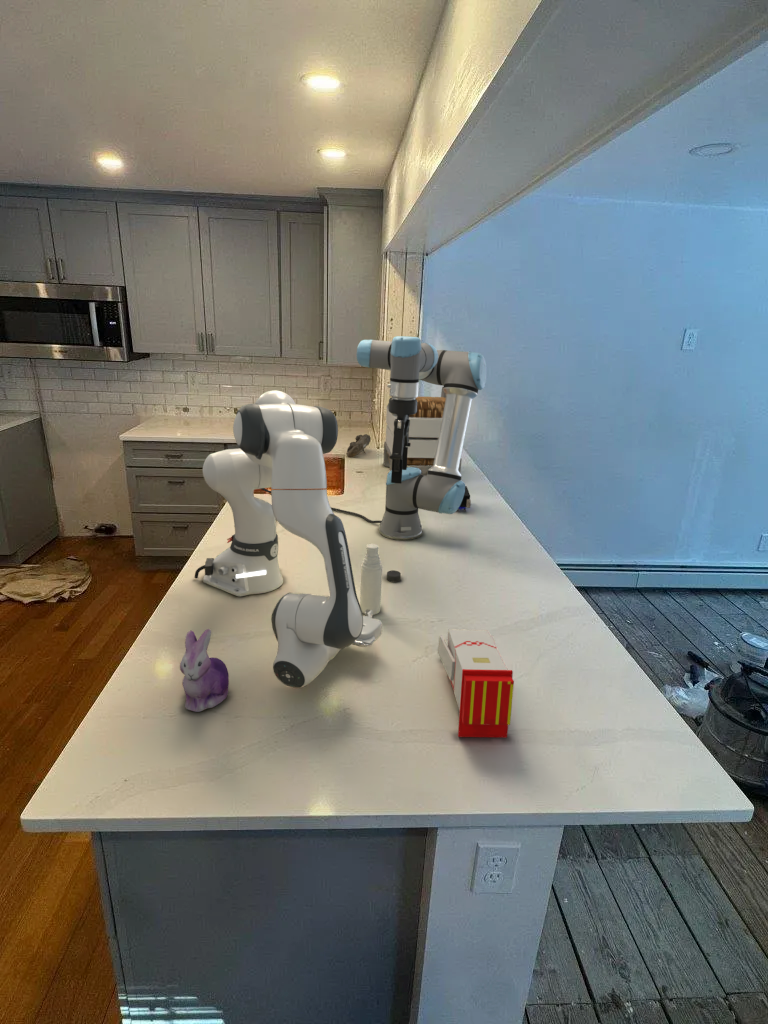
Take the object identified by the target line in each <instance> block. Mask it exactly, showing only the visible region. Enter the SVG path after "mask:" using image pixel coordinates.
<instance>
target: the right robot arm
mask: <svg viewBox="0 0 768 1024" xmlns="http://www.w3.org/2000/svg"><path fill="white" fill-rule="evenodd" d="M356 360H357V363H358V365H359V366H360V367H364V368H368V369H370V368H372V369H379V370H386V371H390V373H389V374H390V376H389V383H388V384H387V385H386V387H387V389H389V396H390V398H388V403H389V412H390V413H392V414H397V419H395V420H394V438H393V448H392V455H391V456H390V457H389V458H390V459H392V470H391V471H390V470H389V471H388V473H387V475H386V480H385V481H386V482H385V504H384V505H385V507H384V508H385V509H384V513H383V515H382V519H381V520H372V519H369V518H368V517H366V516H365V515H363V514H360V513H357V512H353V511H349V510H345V509H341V508H335V507H332V506H330V507H331V509H332V511H333V512H334V511H335V512H339V513H344V514H346V515H347V514H348V515H352V516H356V517H359V518H361V519H362V520H365V521H366V522H368V523H371V524H379V527H378V533H379V534H380V535H381V536H382V537H385V538H387V539H389V540H395V541H410V540H415V539H418V538H420V537H421V536H422V535H423V525H422V524H421V518H420V515H419V510H423V511H428V512H434V513H437V514H446V515H453V514H455V513H456V512H458V511H457V509H458V508H459V506H460V505H461V502H462V500H463V497H464V493H465V486H466V483H465V482H464V481H463V480H462V477H463V476H462V473H461V474H460V472H459V470H458V469H459V464H460V458H462V453H463V447H464V442H465V437H466V431H467V426H468V422H469V417H470V412H471V411H470V410H471V406H472V401H473V400H474V399H475V398H476V397H477V396H478V394H479V391H482V390H484V389H485V386H486V384H487V378H488V377H487V373H488V372H487V371H488V370H487V363H486V359H485V356H484V355H483V354H482V353H480V352H473V351H471V350H470V351H463V350H462V351H461V350H446V349H437V348H436V347H435V346H434V345H433V344H432V343H429V342H422V340H421V339H420V337H418V336H410V335H409V336H406V335H397V336H394V337H393V338H392V340H391V341H389V340H377V339H371V338H370V339H362V340H360V342H359V343H358V345H357V348H356ZM420 381H422V382H426V383H429V384H431V385H436V386H442V387H443V391H444V392H445V394H446V401H445V406H444V411H443V416H442V422H441V427H440V432H439V437H438V443H437V448H436V453H435V458H434V464H433V466H432V465H431V466H430V468H428V469H427V472H426V474H422V470H421V468H419V467H416V466H407V455H408V447H410V445H411V443H408V442H409V426H410V420H409V415H413V414H416V412H417V399H416V398H417V397H419V390H420V389H419V388H420ZM406 446H408V447H406ZM260 490H261V491H264V492H267V493H269V494H271V490H269V489H268V488H261V489H260Z"/></svg>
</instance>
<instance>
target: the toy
mask: <svg viewBox="0 0 768 1024" xmlns="http://www.w3.org/2000/svg"><path fill="white" fill-rule="evenodd" d="M446 640H447V643H446V641H445V639H444V636H443V635H442V634H439V637H438V646H437V656H438V657H439V659H440V661H441V663H442V666H443V668H444V670H445V672H446V674H447V677H448V679H449V681H450V684H451V687H452V690H453V693H454V697H455V701H456V705H457V708H458V711H459V714H458V715H459V716H458V730H457V731H458V732H457V737H458V738H508V731H509V726H510V725H511V717H512V707H513V697H514V696H513V695H514V684H515V680H514V679H513V673H514V671H513V670H512V669H508V667H507V665H506V662H505V661H504V659H503V658H502V655H501V653H500V651H499V649H498V647H497V643H496V639H495V637H494V635H493V634H491V632H490V631H489V629H467V628H466V629H465V628H463V629H461V628H460V629H459V628H448V630H447V639H446Z"/></svg>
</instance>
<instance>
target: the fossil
mask: <svg viewBox="0 0 768 1024" xmlns="http://www.w3.org/2000/svg"><path fill="white" fill-rule="evenodd" d="M354 440H355V441H351V442H350V443H349V446H348V447H347V450H346V456H347V457H348V458H352V457H355V456H357V455H359V454H360V453H361V452H363V453H364V454H366V452H365V449H366V448H367V446H369V445H370V443H371V440H372V439H371V436H370V434H367V433H365V434H358V435H356V436H355V438H354Z"/></svg>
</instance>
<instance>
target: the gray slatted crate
mask: <svg viewBox="0 0 768 1024" xmlns="http://www.w3.org/2000/svg"><path fill="white" fill-rule="evenodd" d="M443 387H444V386H442V387H441V392H440V393H441V394H440V396H418V397H417V398H416V399H417V412H416V414H413V415H409V420H410V426H409V442H408V443H411V445H410V447H408V446H406V447H408V455H407V467H417V466H418V467H432V466H433V464H434V458H435V453H436V448H437V443H438V437H439V432H440V427H441V422H442V416H443V411H444V406H445V401H446V394H445V392H444V391H443ZM385 414H386V415H385V423H386V428H385V438H384V442H383V466H384V467H388V468H389V472H390V471H391V470H392V459H390V458H389V457H390V456H391V455H392V448H393V438H394V420H395V419H397V414H392V413H390V412H389V402H388V404H387V405H386V413H385ZM462 461H463V460H462V457H461V458H460V464H459V469H458V470H459V472H460V474H461V475H462V473H461V472H462Z"/></svg>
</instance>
